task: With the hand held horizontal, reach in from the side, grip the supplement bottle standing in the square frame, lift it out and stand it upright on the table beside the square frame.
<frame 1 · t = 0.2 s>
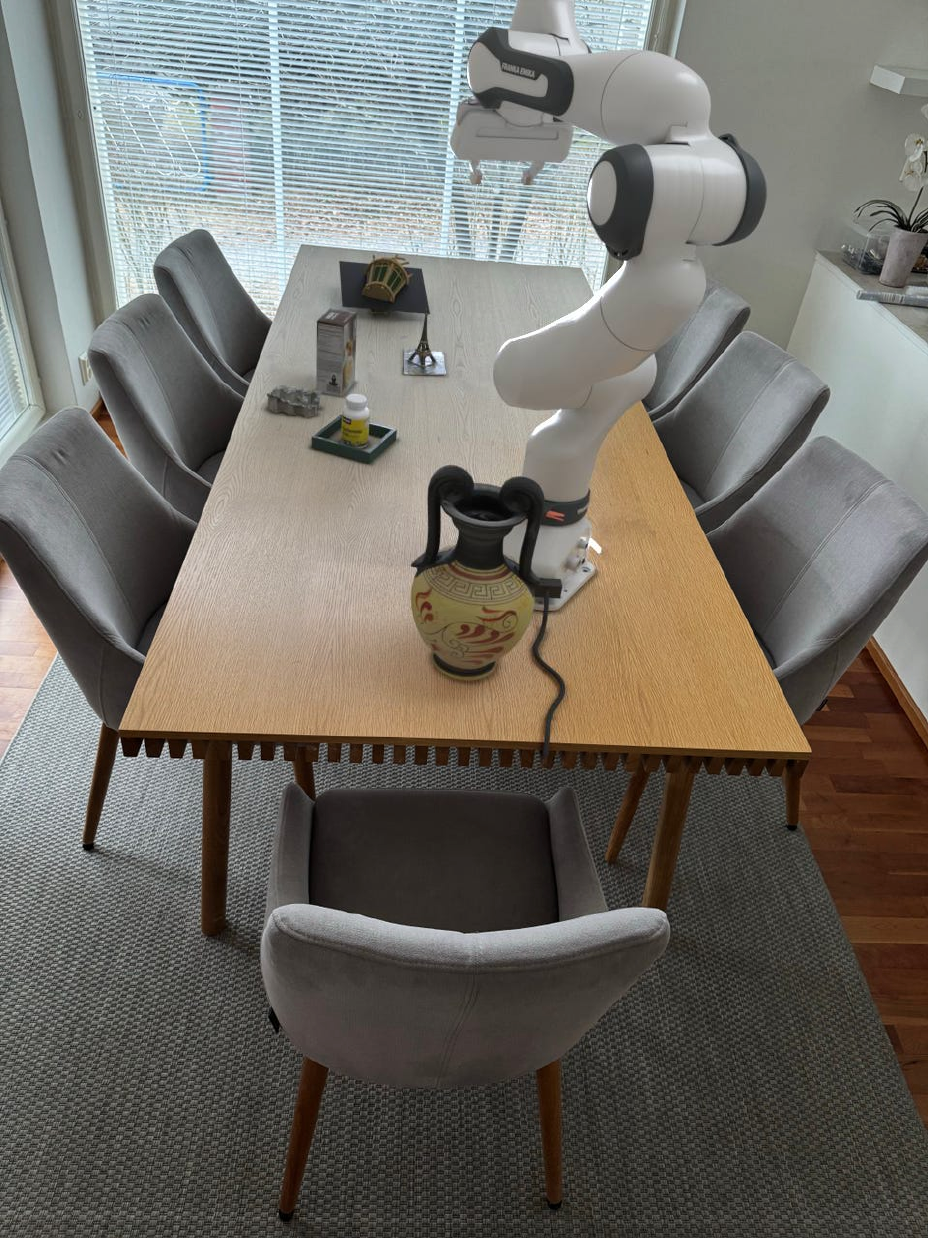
hand: (500, 182, 157), 51 cm above the table, tool tilted 20°, fingers open, 8 cm apart
amphora: (463, 661, 135), on the table
eiffel tower figurine: (424, 364, 226), on the table
supplement bottle: (354, 444, 187), resting in square frame
coffee box: (335, 388, 209), on the table
square frame: (354, 443, 187), on the table
lantern: (381, 303, 258), on the table
egg carton: (294, 409, 198), on the table
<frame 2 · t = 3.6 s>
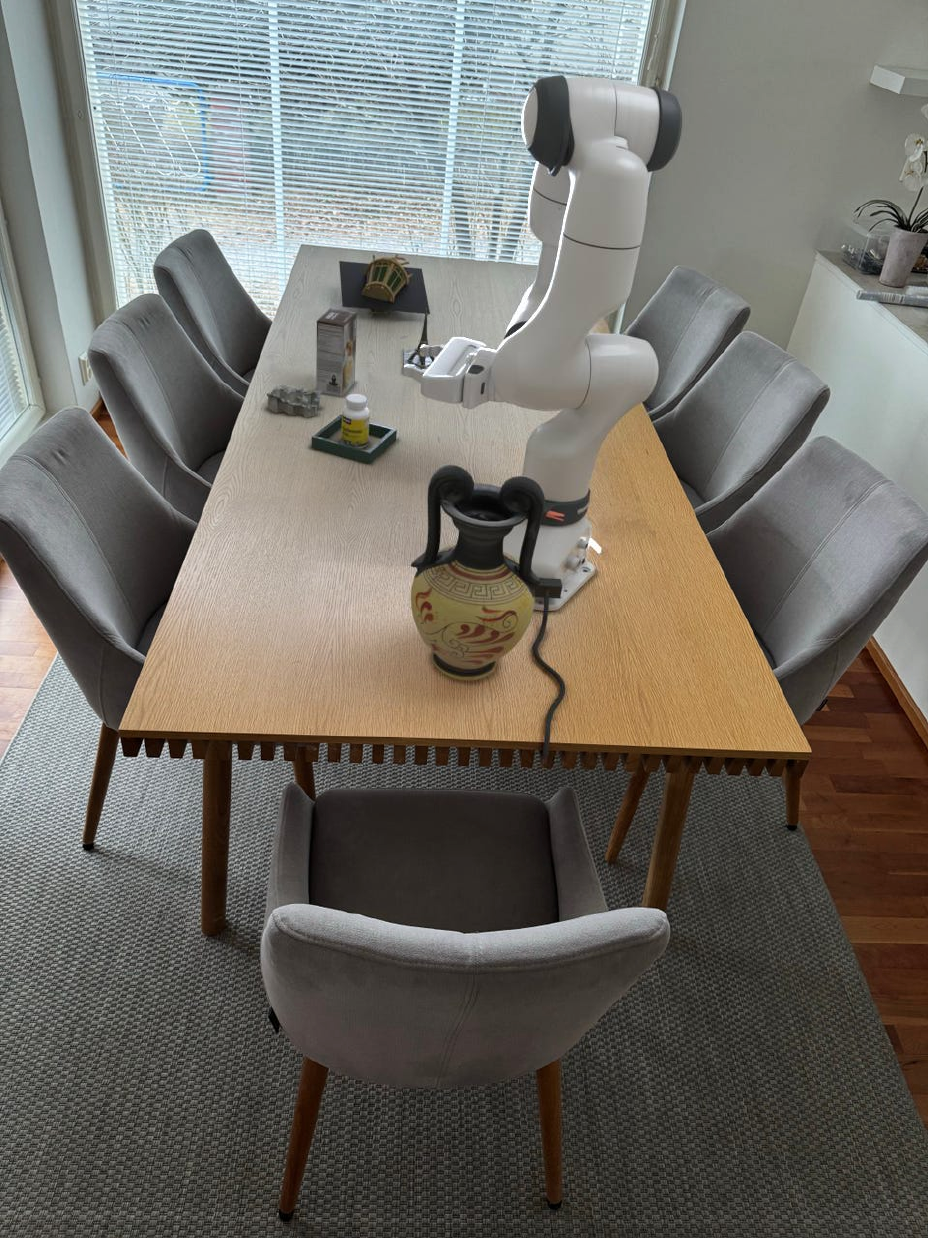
hand: (412, 359, 171), 21 cm above the table, tool horizontal, fingers open, 8 cm apart
nothing on the table moved.
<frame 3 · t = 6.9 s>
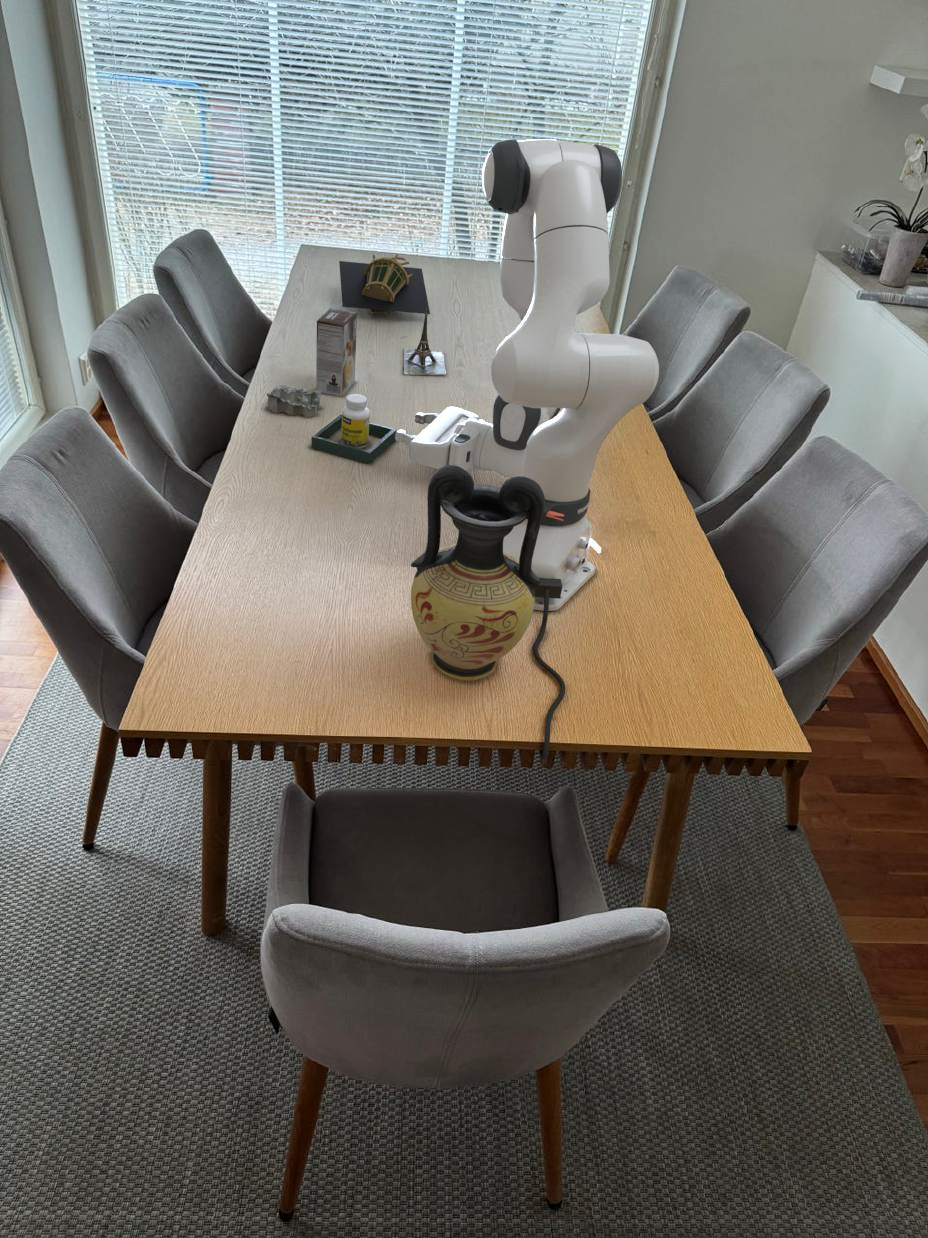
hand: (406, 425, 181), 7 cm above the table, tool horizontal, fingers open, 8 cm apart
nothing on the table moved.
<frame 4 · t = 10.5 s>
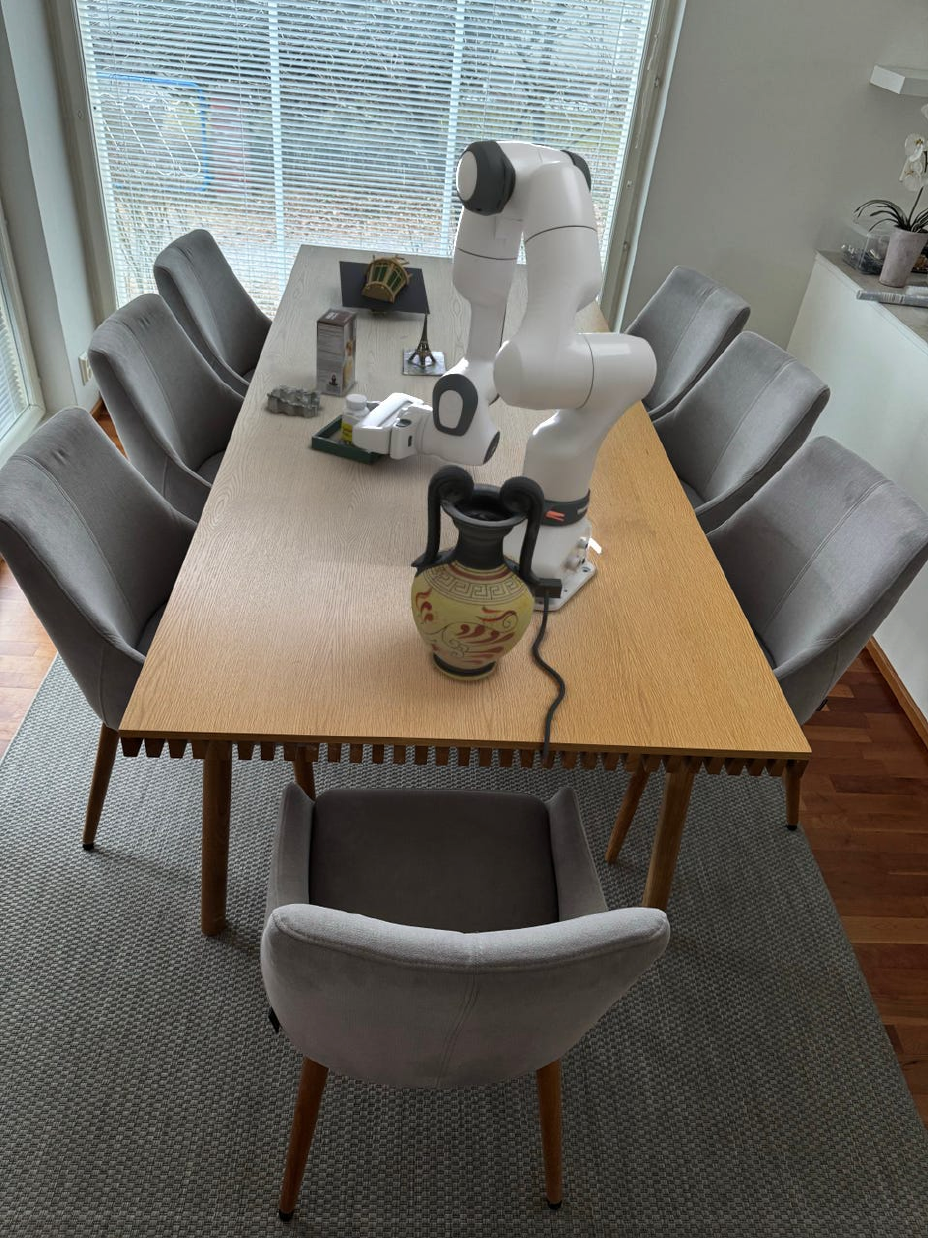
hand: (351, 411, 183), 7 cm above the table, tool horizontal, fingers closed on supplement bottle, 5 cm apart
supplement bottle: (354, 444, 187), resting in square frame, touching gripper
everything else where it was.
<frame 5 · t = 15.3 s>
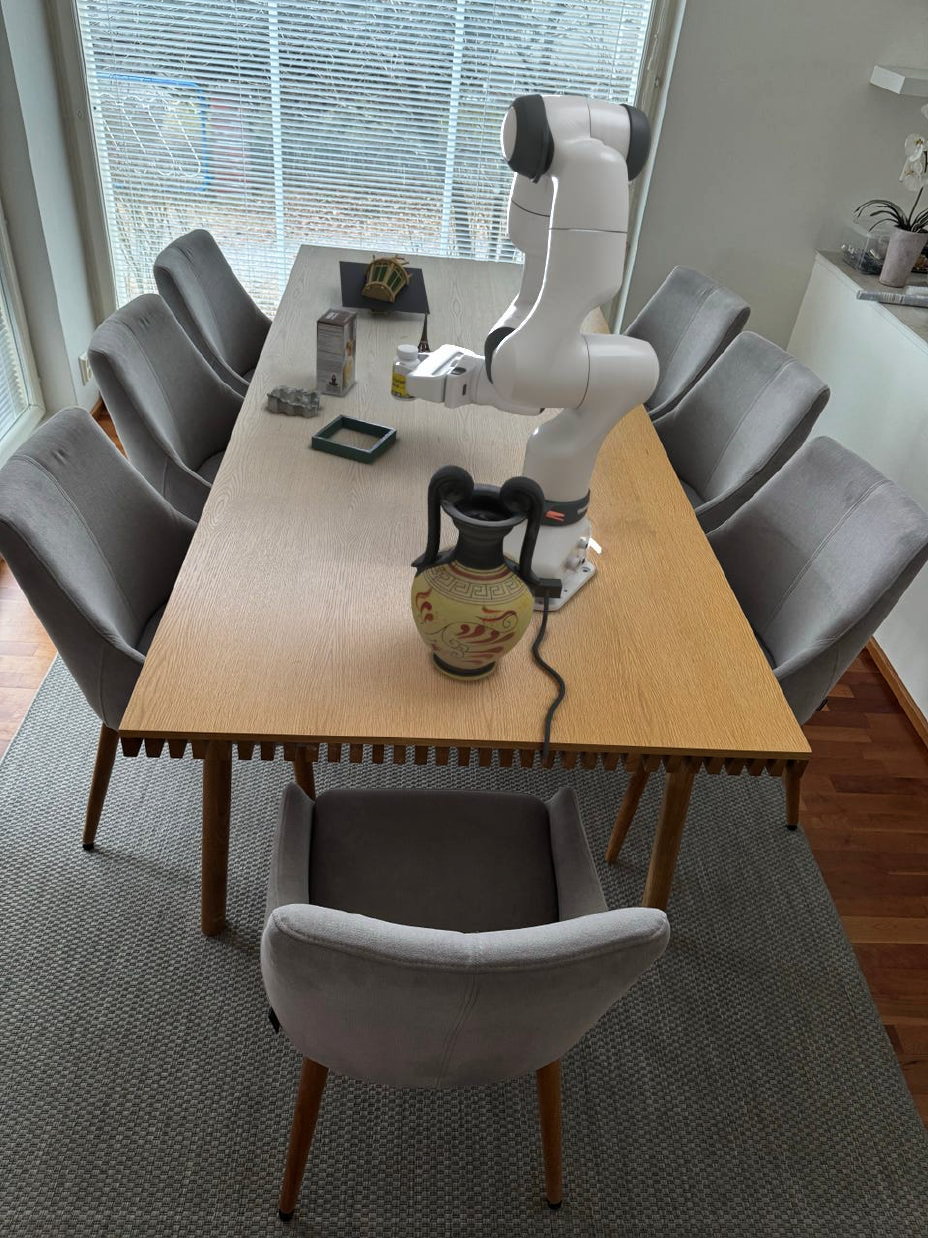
hand: (402, 361, 180), 17 cm above the table, tool horizontal, fingers closed on supplement bottle, 5 cm apart
supplement bottle: (404, 397, 184), point 10 cm above the table, touching gripper
everything else where it was.
when the fingers open (7 cm above the table, at t = 20.1 s): supplement bottle stays where it is, on the table.
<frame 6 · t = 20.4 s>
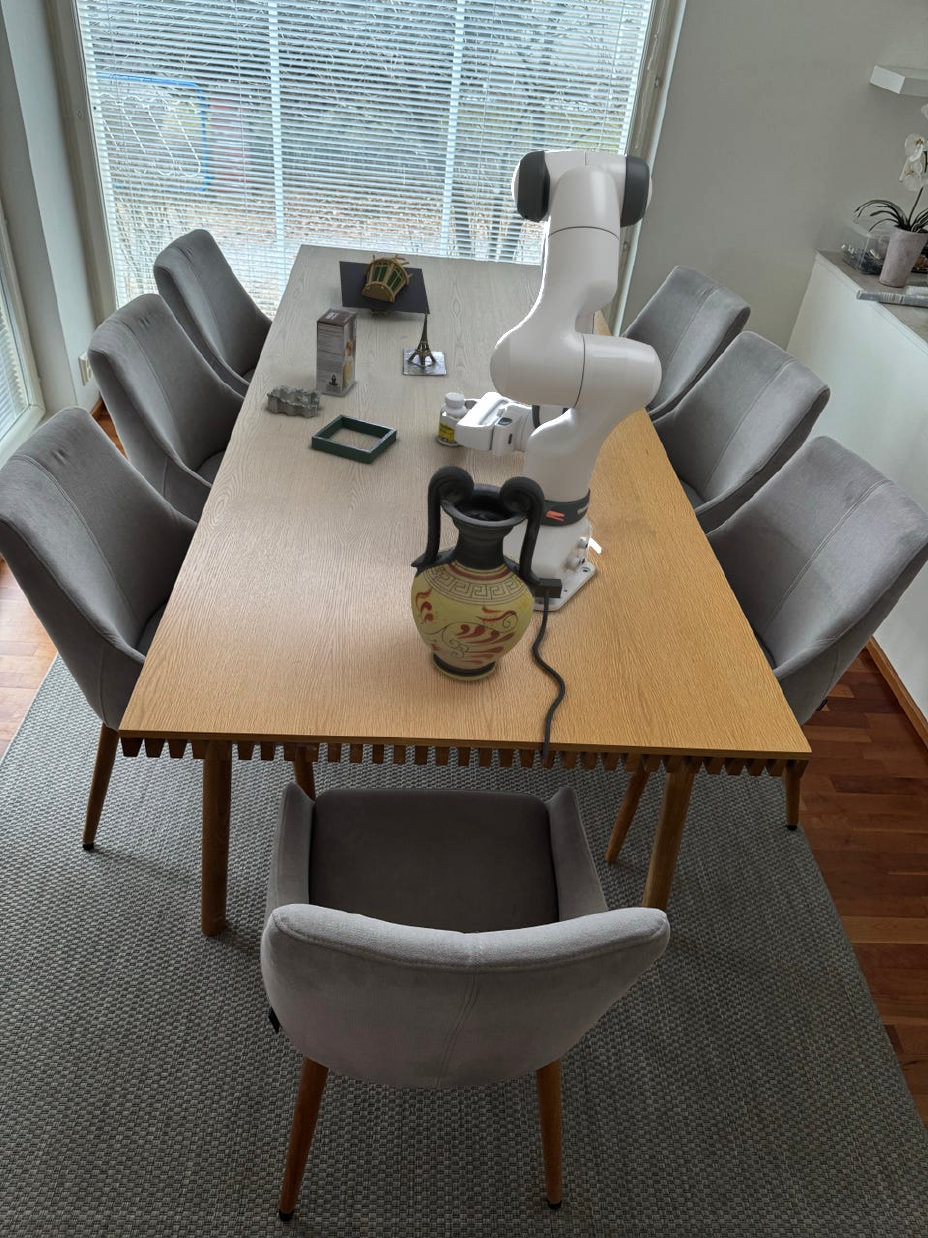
hand: (449, 409, 189), 7 cm above the table, tool horizontal, fingers open, 7 cm apart
supplement bottle: (450, 441, 193), on the table
everything else where it was.
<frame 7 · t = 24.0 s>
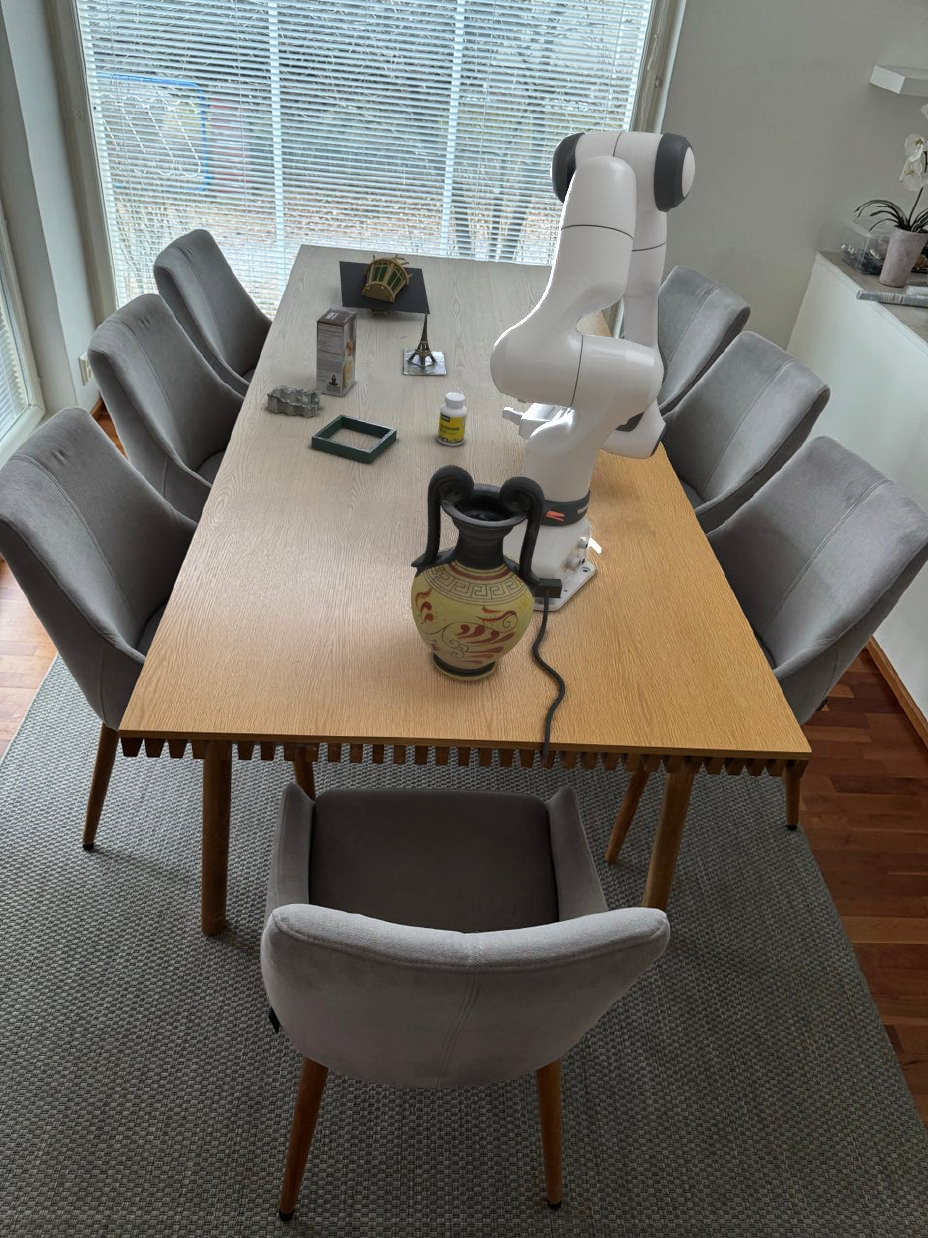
hand: (511, 403, 183), 12 cm above the table, tool horizontal, fingers open, 8 cm apart
nothing on the table moved.
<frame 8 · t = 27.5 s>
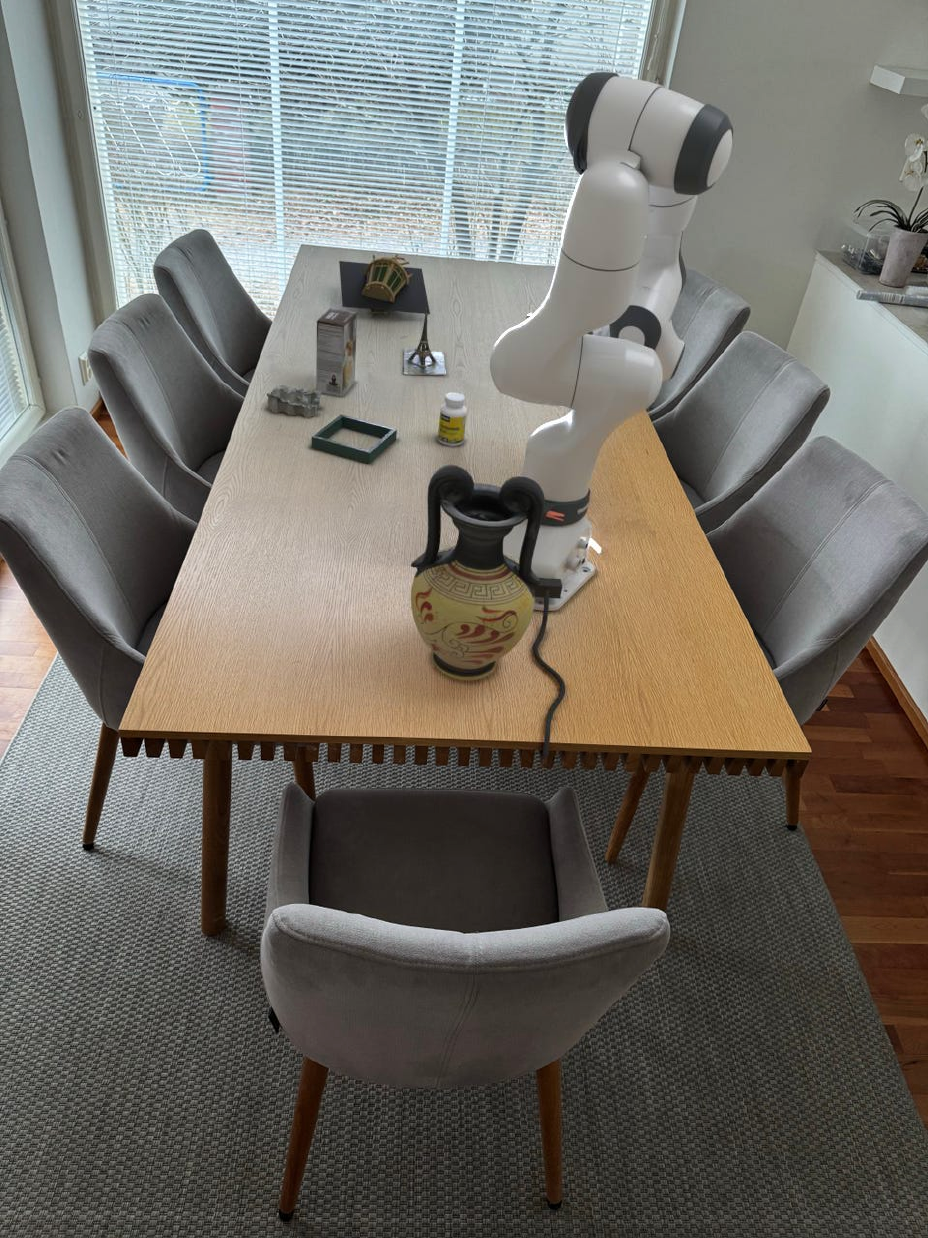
hand: (519, 325, 171), 28 cm above the table, tool horizontal, fingers open, 8 cm apart
nothing on the table moved.
at the end: supplement bottle inside the target area (0.1 cm from its centre), on the table; supplement bottle tilted 0°; the gripper is holding nothing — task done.
